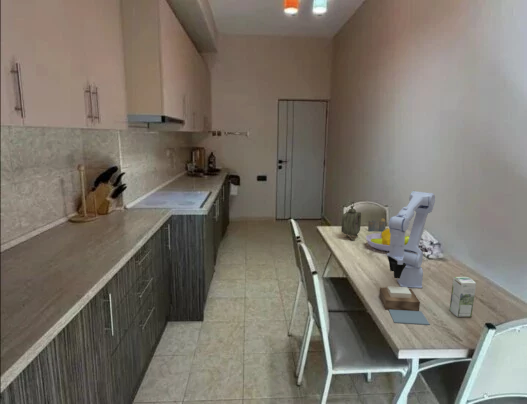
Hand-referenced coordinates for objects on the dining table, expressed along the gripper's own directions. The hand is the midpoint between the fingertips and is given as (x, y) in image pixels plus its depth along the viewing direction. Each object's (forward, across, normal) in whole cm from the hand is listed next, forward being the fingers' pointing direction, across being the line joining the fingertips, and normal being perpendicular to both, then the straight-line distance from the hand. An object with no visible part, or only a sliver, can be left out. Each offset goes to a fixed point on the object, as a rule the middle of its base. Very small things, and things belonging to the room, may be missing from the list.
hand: (394, 274), depth 152 cm
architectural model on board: (+10, -104, +11) cm, 105 cm away
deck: (+9, +8, 0) cm, 12 cm away
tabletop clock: (+10, -83, -9) cm, 84 cm away
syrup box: (+10, +14, +22) cm, 28 cm away
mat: (+9, +19, +1) cm, 22 cm away
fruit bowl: (+10, -64, +12) cm, 66 cm away
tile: (+5, +8, 0) cm, 10 cm away
